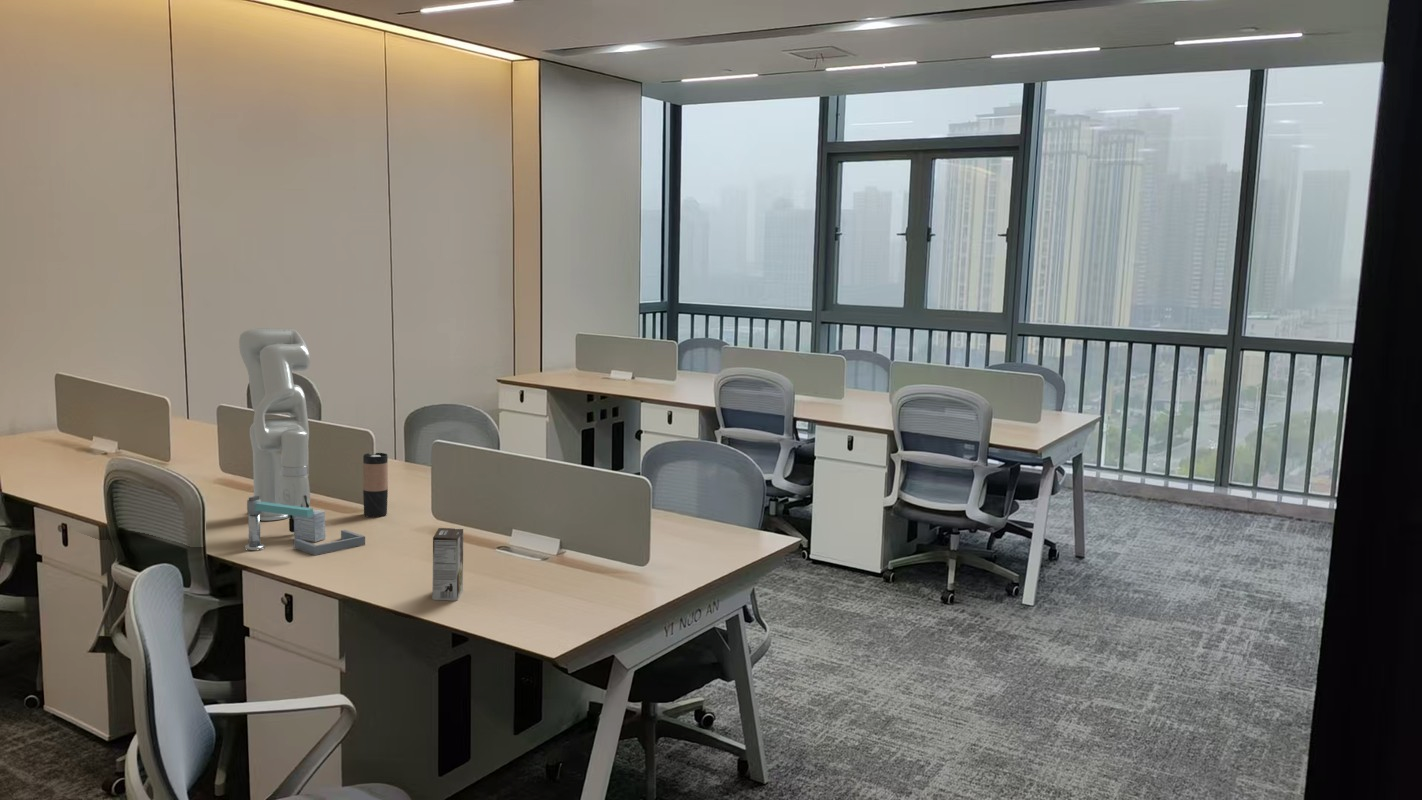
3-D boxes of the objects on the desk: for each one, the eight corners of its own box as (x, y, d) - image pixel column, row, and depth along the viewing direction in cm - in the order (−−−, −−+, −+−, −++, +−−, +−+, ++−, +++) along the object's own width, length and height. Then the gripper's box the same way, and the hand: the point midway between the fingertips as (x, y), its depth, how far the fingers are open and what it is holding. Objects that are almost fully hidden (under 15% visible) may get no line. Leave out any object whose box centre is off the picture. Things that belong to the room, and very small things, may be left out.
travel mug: (380, 518, 330) (380, 457, 327) (358, 516, 331) (358, 455, 329) (392, 513, 337) (392, 453, 335) (370, 511, 339) (370, 451, 336)
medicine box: (325, 539, 303) (325, 510, 302) (315, 542, 299) (314, 513, 298) (304, 535, 306) (304, 507, 304) (293, 539, 301) (293, 510, 300)
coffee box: (438, 589, 261) (438, 527, 259) (463, 589, 262) (464, 528, 260) (431, 600, 252) (431, 536, 250) (457, 600, 253) (458, 537, 251)
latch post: (241, 548, 290) (241, 514, 289) (258, 545, 294) (258, 511, 293) (250, 551, 287) (250, 517, 286) (267, 548, 291) (267, 514, 290)
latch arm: (253, 511, 291) (253, 494, 291) (314, 519, 285) (314, 502, 285) (244, 513, 288) (244, 497, 287) (305, 522, 282) (305, 505, 281)
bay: (294, 548, 292) (294, 539, 292) (344, 537, 305) (344, 529, 305) (314, 555, 286) (314, 546, 286) (365, 544, 299) (365, 536, 299)
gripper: (269, 468, 306) (270, 528, 308) (296, 476, 297) (297, 538, 299) (293, 465, 312) (293, 524, 314) (320, 473, 303) (320, 533, 305)
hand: (295, 530), depth 307 cm, fingers closed
